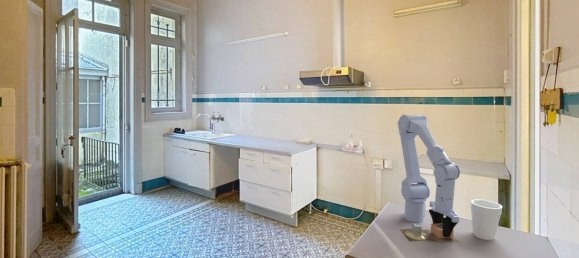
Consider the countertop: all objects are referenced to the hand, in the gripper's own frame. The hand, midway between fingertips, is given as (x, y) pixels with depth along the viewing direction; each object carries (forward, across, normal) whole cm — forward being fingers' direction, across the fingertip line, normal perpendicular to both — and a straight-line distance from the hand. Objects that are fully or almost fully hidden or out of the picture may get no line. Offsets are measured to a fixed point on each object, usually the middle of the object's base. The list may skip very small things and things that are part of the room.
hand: (441, 232), depth 105 cm
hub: (+2, -1, -9) cm, 9 cm away
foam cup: (+2, +1, +16) cm, 16 cm away
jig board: (+2, 0, -5) cm, 5 cm away
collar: (+1, 0, 0) cm, 1 cm away
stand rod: (+2, 0, 0) cm, 2 cm away
